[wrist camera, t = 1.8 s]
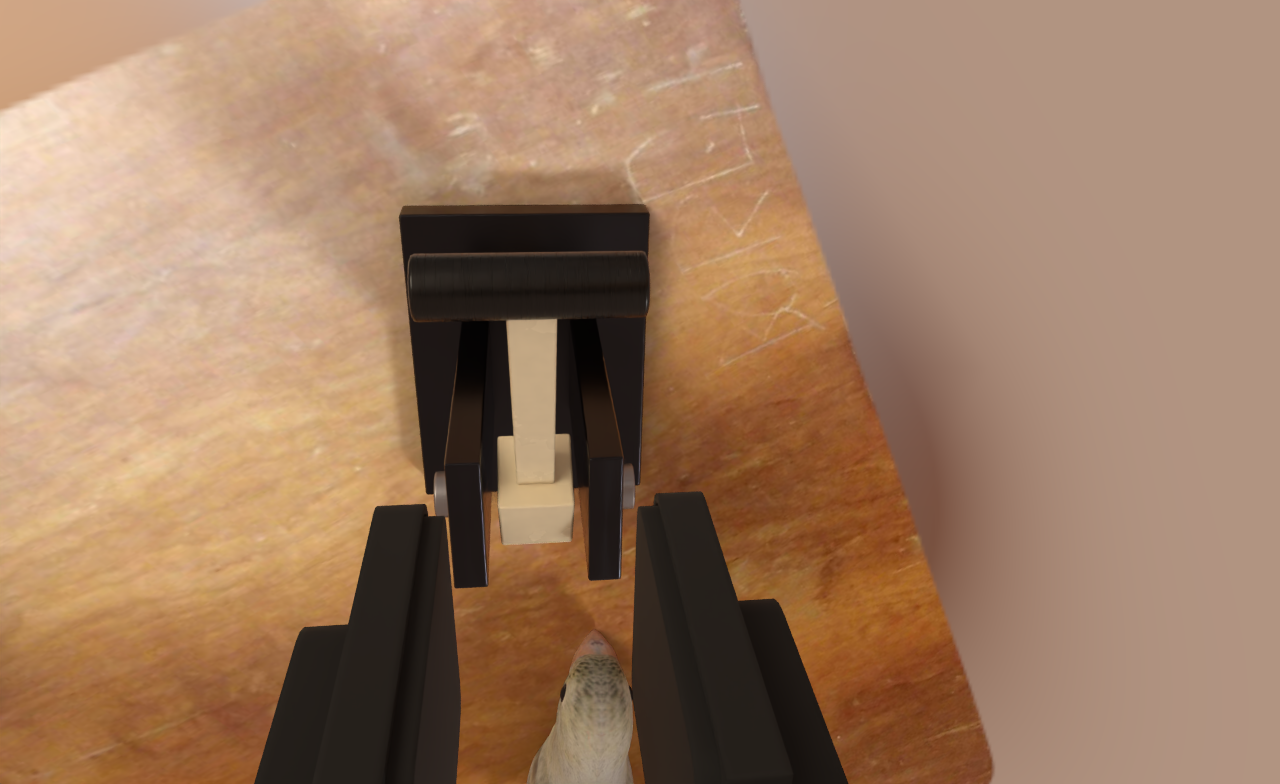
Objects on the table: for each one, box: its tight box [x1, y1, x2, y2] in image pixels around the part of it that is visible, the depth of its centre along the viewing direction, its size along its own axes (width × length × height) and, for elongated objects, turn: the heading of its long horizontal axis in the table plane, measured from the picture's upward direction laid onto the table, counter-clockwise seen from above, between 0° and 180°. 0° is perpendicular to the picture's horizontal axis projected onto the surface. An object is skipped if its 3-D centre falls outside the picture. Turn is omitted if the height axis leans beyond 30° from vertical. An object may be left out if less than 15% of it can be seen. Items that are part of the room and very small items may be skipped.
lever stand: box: [399, 204, 650, 588], centre depth 32 cm, size 12×9×12 cm
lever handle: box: [408, 251, 650, 545], centre depth 24 cm, size 12×5×2 cm
